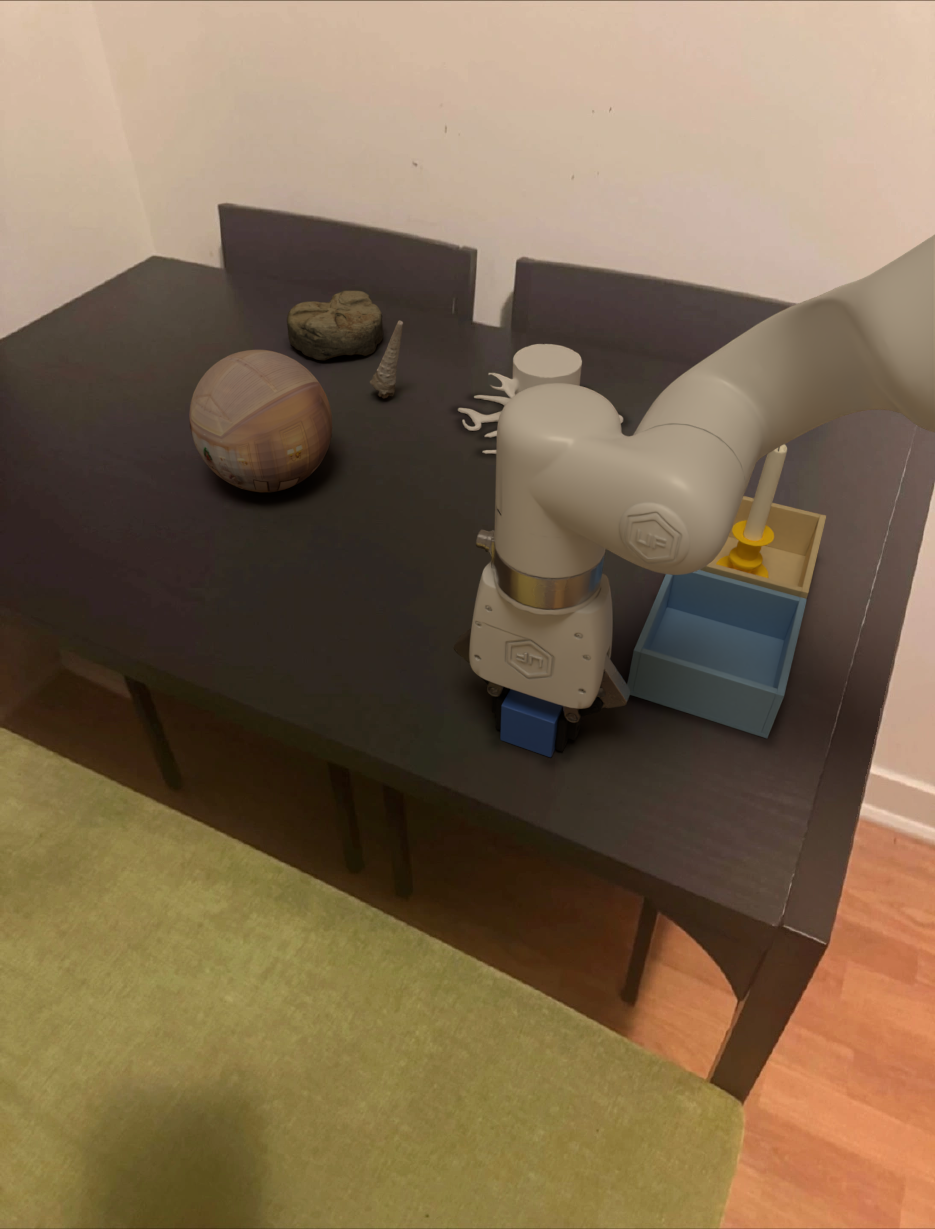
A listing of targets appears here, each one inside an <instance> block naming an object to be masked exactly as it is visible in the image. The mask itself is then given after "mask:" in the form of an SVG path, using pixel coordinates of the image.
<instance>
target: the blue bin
mask: <svg viewBox="0 0 935 1229" xmlns="http://www.w3.org/2000/svg"><path fill="white" fill-rule="evenodd" d="M664 575H665V576H664V577H663V580H662V582H661V584H660V587H659V589H658V592H657V594H656V597H655V599H654V601H653V603H652V606H651V607H650V610H649V613H648V616H647V617H646V619H645V620H646V621H645V623H644V625H643V626H642V627H643V628H642V630H641V632H640V634H639V637H638V640H637V642H636V643H635V647H634V649H633V652H632V657H631V663H630V666H629V667H630V668H629V674H628V678H627V682H626V684H627V685H628V687H629V688H630V690H631V694H630V696H632V697H636V698H639V699H642V700H645V701H648V702H651V703H655V704H658V705H661V706H664V707H667V708H670V709H674V710H677V711H680V712H683V713H686V714H688V715H692V716H695V717H698V718H700V719H705V720H708V721H711V722H713V723H717V724H721V725H723V726H727V727H729V728H733V729H735V730H738V731H742V732H744V733H748V734H752V735H754V736H758V737H761V738H764V739H768V738H769V735H770V732H771V730H772V728H773V726H774V723H775V720H776V718H777V715H778V713H779V710H780V708H781V705H782V702H783V700H784V698H785V694H786V689H787V685H788V681H789V677H790V673H791V668H792V665H793V660H794V655H795V652H796V647H797V643H798V638H799V635H800V631H801V626H802V622H803V619H804V618H803V617H804V614H805V610H806V605H807V601H808V599H807V598H806V599H805V598H801V597H798V596H794V595H790V594H786V593H783V592H779V591H775V590H772V589H768V588H764V587H761V586H757V585H753V584H749V583H746V582H742V581H738V580H735V579H731V578H727V577H723V576H720V575H716V574H712V573H709V572H705V571H701V570H698V571H695V572H692V573H688V574H682V575H669V574H664Z"/></svg>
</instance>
